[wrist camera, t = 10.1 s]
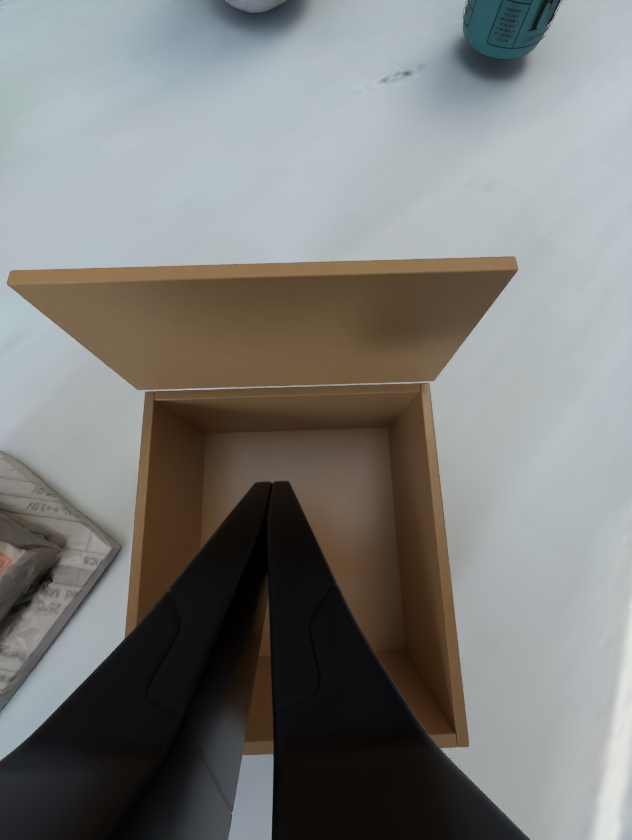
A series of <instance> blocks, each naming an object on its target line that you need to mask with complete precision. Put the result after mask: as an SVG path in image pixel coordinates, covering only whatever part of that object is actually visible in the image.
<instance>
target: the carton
mask: <svg viewBox="0 0 632 840" xmlns="http://www.w3.org/2000/svg"><path fill="white" fill-rule="evenodd" d="M262 481H270V482H272V483H273V482H274V481H289V482H290V484H291V486H292V488H293V490H294V492H295V494H296V497H297V499H298V501H299V503H300V505H301V507H302V509H303V511H304V514H305V516H306V518H307V520H308V522H309V524H310V526H311V529H312V531H313V533H314V535H315V537H316V539H317V541H318V543H319V546H320V548H321V550H322V552H323V554H324V556H325V558H326V560H327V563H328V565H329V567H330V569H331V571H332V573H333V575H334V577H335V580H336V582H337V585H338V586H339V588H340V590H341V592H342V594H343V596H344V598H345V600H346V602H347V604H348V606H349V608H350V610H351V612H352V614H353V616H354V618H355V620H356V622H357V624H358V625H359V627H360V629H361V630H362V632H363V634H364V635H365V637H366V639H367V640H368V642H369V644H370V645H371V647H372V649H373V650H374V652H375V653H376V655H377V656H378V658H379V660H380V661H381V663H382V664H383V666H384V667H385V669H386V671H387V672H388V674H389V675H390V677H391V678H392V680H393V681H394V683H395V685H396V686H397V688H398V689H399V691H400V692H401V694H402V696H403V697H404V699H405V700H406V702H407V703H408V705H409V706H410V708H411V710H412V711H413V713H414V714H415V716H416V717H417V718H418V720H419V721H420V723H421V724H422V726H423V727H424V728H425V730H426V731H427V733H428V734H429V735H430V737H431V738H432V739H433V740H434V742H435V743H436V744H437V745H438V747H439V748H449V747H457V746H458V747H469V739H468V730H467V721H466V712H465V703H464V694H463V685H462V676H461V667H460V658H459V649H458V640H457V631H456V622H455V613H454V603H453V594H452V585H451V576H450V567H449V558H448V549H447V540H446V531H445V522H444V513H443V504H442V495H441V486H440V477H439V467H438V458H437V449H436V440H435V431H434V422H433V413H432V404H431V395H430V386H429V383H420V384H419V383H414V384H381V385H348V386H315V387H282V388H249V389H216V390H182V391H155V392H154V391H149V392H145V401H144V413H143V425H142V437H141V449H140V461H139V473H138V485H137V498H136V510H135V522H134V534H133V546H132V558H131V570H130V582H129V594H128V606H127V618H126V631H125V638H126V637H127V636H128V635H129V634H130V633H131V632H132V631H133V630H134V628H135V627H136V626H137V625H138V624H139V623H140V621H141V620H142V619H143V618H144V617H145V616H146V614H147V613H148V612H149V611H150V610H151V609H152V607H153V606H154V605H155V604H156V603H157V601H158V600H159V599H160V598H161V597H162V595H163V594H164V593H165V592H166V591H169V587H170V586H171V585H172V583H173V582H174V581H175V580H176V578H177V577H178V576H179V575H180V574H181V572H182V571H183V570H184V569H185V567H186V566H187V565H188V564H189V563H190V561H191V560H192V559H193V558H194V556H195V555H196V554H197V553H198V552H199V550H200V549H201V548H202V547H203V545H204V544H205V543H206V542H207V541H208V539H209V538H210V537H211V536H212V534H213V533H214V532H215V531H216V530H217V528H218V527H219V526H220V525H221V523H222V522H223V521H224V520H225V519H226V517H227V516H228V515H229V514H230V512H231V511H232V510H233V509H234V508H235V506H236V505H237V504H238V503H239V501H240V500H241V499H242V498H243V497H244V495H245V494H246V493H247V492H248V490H249V489H250V488H251V487H252V486H253V484H254V483H256V482H262ZM259 754H274V751H273V711H272V682H271V653H270V624H269V597H268V603H267V609H266V615H265V621H264V627H263V633H262V639H261V645H260V651H259V657H258V663H257V669H256V675H255V681H254V687H253V693H252V699H251V705H250V711H249V717H248V723H247V729H246V735H245V741H244V747H243V753H242V755H259Z"/></svg>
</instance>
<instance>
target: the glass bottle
mask: <svg viewBox="0 0 632 840" xmlns="http://www.w3.org/2000/svg"><path fill="white" fill-rule="evenodd" d="M224 1H225V2H227V3H228V4H230V5H231V6H233V7H235V8H237V9H240V10H243V11H246V12H249V13H260V12H265V11H268V10H271V9H273V8H275V7H277V6H279V5H281V4H282V3H284V2H285V1H286V0H224Z"/></svg>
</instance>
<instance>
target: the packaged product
mask: <svg viewBox="0 0 632 840" xmlns="http://www.w3.org/2000/svg"><path fill="white" fill-rule="evenodd" d="M120 548H121V546H120V545H119V544H118V543H116V542H115V541H114V540H113V539H111V538H110V537H109V536H108V535H106V534H105V533H104V532H103V531H102V530H100V529H99V528H98V527H97V526H95V525H94V524H93V523H92V522H91V521H89V520H88V519H87V518H86V517H84V516H83V515H82V514H81V513H80V512H78V511H77V510H76V509H75V508H74V507H72V506H71V505H70V504H69V503H68V502H66V501H65V500H64V499H63V498H62V497H60V496H59V495H58V494H57V493H56V492H55V491H53V490H52V489H51V488H50V487H49V486H47V485H46V484H45V483H44V482H43V481H42V480H40V479H39V478H38V477H37V476H36V475H34V474H33V473H32V472H31V471H30V470H28V469H27V468H26V467H25V466H23V465H22V464H20V463H19V462H18V461H16V460H15V459H13V458H12V457H10V456H9V455H8V454H6V453H5V452H3V451H0V710H1V709H2V708H3V707H4V705H5V704H6V703H7V702H8V701H9V699H10V698H11V697H12V696H13V695H14V693H15V692H16V691H17V689H18V688H19V686H20V685H21V684H22V682H23V681H24V680H25V678H26V677H27V675H28V674H29V673H30V671H31V670H32V669H33V667H34V666H35V664H36V663H37V662H38V660H39V659H40V658H41V656H42V655H43V654H44V652H45V651H46V649H47V648H48V647H49V645H50V644H51V643H52V641H53V640H54V638H55V637H56V636H57V634H58V633H59V632H60V630H61V629H62V628H63V626H64V625H65V623H66V622H67V621H68V619H69V618H70V617H71V615H72V614H73V612H74V611H75V610H76V608H77V607H78V606H79V604H80V603H81V602H82V600H83V599H84V597H85V596H86V595H87V593H88V592H89V591H90V589H91V588H92V587H93V585H94V584H95V582H96V581H97V580H98V578H99V577H100V576H101V574H102V573H103V571H104V570H105V569H106V567H107V566H108V565H109V563H110V562H111V561H112V559H113V558H114V556H115V555H116V554H117V552H118V551H119V550H120Z"/></svg>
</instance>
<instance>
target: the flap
mask: <svg viewBox="0 0 632 840" xmlns="http://www.w3.org/2000/svg"><path fill="white" fill-rule="evenodd" d="M517 271H518V266H517V262H516V258H515V257H480V258H445V259H409V260H373V261H337V262H301V263H266V264H230V265H194V266H158V267H122V268H87V269H51V270H15V271H10V273H9V277H8V280H7V285H8V286H9V287H11V288H12V289H13V290H14V291H16V292H17V293H18V294H19V295H21V296H22V297H23V298H24V299H26V300H27V301H28V302H29V303H31V304H32V305H33V306H34V307H35V308H37V309H38V310H39V311H40V312H42V313H43V314H44V315H45V316H47V317H48V318H49V319H50V320H52V321H53V322H54V323H55V324H57V325H58V326H59V327H60V328H62V329H63V330H64V331H65V332H66V333H68V334H69V335H70V336H71V337H73V338H74V339H75V340H76V341H78V342H79V343H80V344H81V345H83V346H84V347H85V348H86V349H88V350H89V351H90V352H91V353H92V354H94V355H95V356H96V357H97V358H99V359H100V360H101V361H102V362H104V363H105V364H106V365H107V366H109V367H110V368H111V369H112V370H114V371H115V372H116V373H117V374H118V375H120V376H121V377H122V378H123V379H125V380H126V381H127V382H128V383H130V384H131V385H132V386H133V387H135V388H136V389H137V390H153V389H187V388H220V387H253V386H286V385H319V384H352V383H385V382H419V381H434V380H435V379H436V378H437V376H438V375H439V374H440V372H441V371H442V370H443V368H444V367H445V366H446V364H447V363H448V362H449V360H450V359H451V358H452V357H453V355H454V354H455V353H456V351H457V350H458V349H459V347H460V346H461V345H462V343H463V342H464V341H465V339H466V338H467V337H468V335H469V334H470V333H471V331H472V330H473V329H474V328H475V326H476V325H477V324H478V322H479V321H480V320H481V318H482V317H483V316H484V314H485V313H486V312H487V310H488V309H489V308H490V306H491V305H492V304H493V302H494V301H495V300H496V299H497V297H498V296H499V295H500V293H501V292H502V291H503V289H504V288H505V287H506V285H507V284H508V283H509V281H510V280H511V279H512V277H513V276H514V275H515V273H516V272H517Z"/></svg>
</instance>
